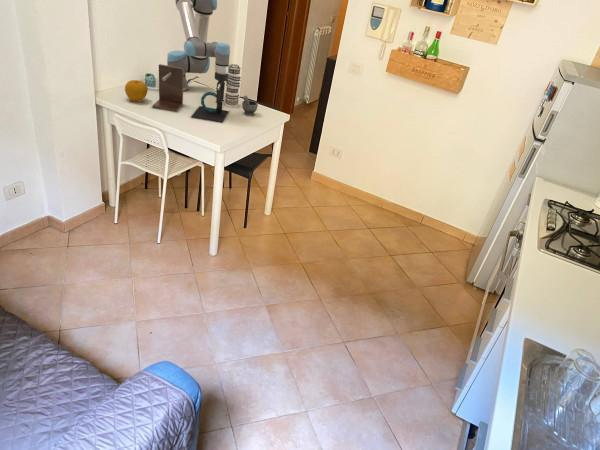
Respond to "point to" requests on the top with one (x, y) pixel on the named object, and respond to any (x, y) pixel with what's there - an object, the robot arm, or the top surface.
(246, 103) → the mortar and pestle
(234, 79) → the decorative candle
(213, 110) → the ring
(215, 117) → the mat
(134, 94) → the apple
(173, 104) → the hook board
